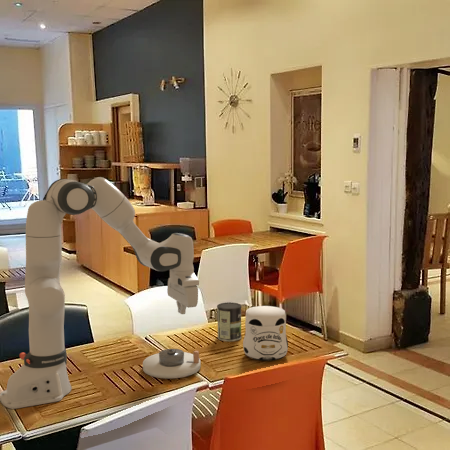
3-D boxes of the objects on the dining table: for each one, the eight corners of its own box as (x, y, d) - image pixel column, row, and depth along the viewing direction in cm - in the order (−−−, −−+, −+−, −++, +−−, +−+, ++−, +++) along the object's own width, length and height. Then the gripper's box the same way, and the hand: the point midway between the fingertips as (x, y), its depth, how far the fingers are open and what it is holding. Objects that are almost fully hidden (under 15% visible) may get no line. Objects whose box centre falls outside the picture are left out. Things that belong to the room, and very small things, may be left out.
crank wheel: (137, 377, 201) (136, 361, 200) (149, 355, 222) (149, 340, 221) (196, 379, 200) (196, 362, 199) (203, 357, 220) (203, 342, 220)
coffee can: (241, 333, 250) (241, 302, 248) (241, 341, 240) (241, 308, 238) (217, 333, 250) (217, 302, 248) (216, 341, 240) (216, 308, 238)
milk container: (264, 368, 211) (264, 321, 209) (233, 355, 224) (233, 310, 222) (297, 357, 222) (297, 312, 219) (266, 345, 235) (266, 302, 233)
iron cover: (157, 366, 206) (156, 354, 205) (161, 357, 215) (161, 345, 214) (182, 367, 205) (181, 354, 205) (185, 357, 214) (185, 346, 214)
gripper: (163, 272, 220) (163, 307, 222) (185, 283, 202) (184, 321, 204) (178, 270, 223) (178, 305, 225) (201, 281, 205) (201, 319, 207)
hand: (181, 313), depth 214 cm, fingers closed
